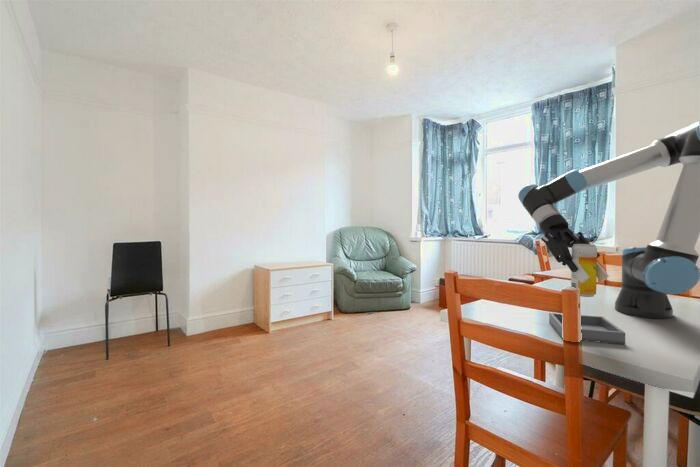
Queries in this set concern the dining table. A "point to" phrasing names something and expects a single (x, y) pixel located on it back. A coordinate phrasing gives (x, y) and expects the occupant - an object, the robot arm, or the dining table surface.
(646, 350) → the dining table surface
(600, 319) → the tray
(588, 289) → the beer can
